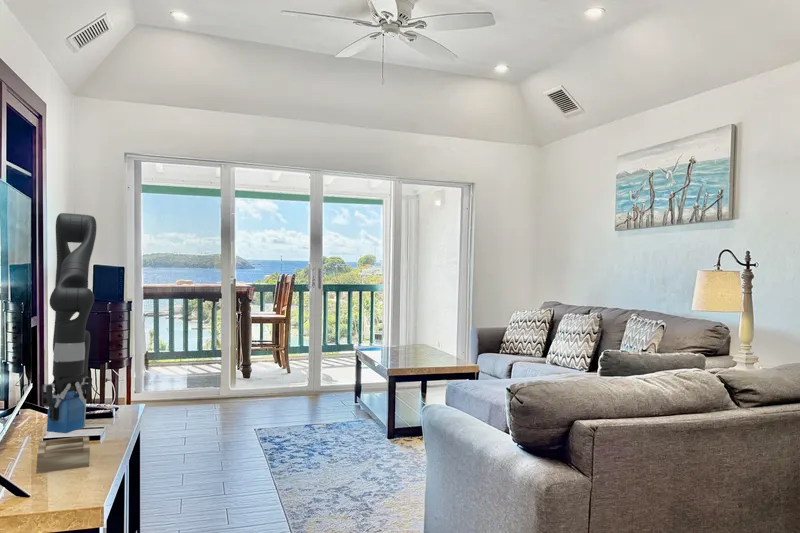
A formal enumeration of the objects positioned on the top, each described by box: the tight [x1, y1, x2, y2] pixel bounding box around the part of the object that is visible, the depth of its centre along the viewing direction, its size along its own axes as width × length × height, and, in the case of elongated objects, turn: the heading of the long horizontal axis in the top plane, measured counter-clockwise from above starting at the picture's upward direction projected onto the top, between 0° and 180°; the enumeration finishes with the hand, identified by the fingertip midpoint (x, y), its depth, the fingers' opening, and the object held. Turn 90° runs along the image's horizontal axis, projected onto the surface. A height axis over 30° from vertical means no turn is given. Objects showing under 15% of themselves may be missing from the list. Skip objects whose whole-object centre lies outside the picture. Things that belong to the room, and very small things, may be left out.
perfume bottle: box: [46, 386, 85, 434], centre depth 147 cm, size 6×6×12 cm
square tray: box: [35, 435, 91, 474], centre depth 147 cm, size 12×12×5 cm
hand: (65, 417), depth 147 cm, fingers closed on perfume bottle, 6 cm apart
